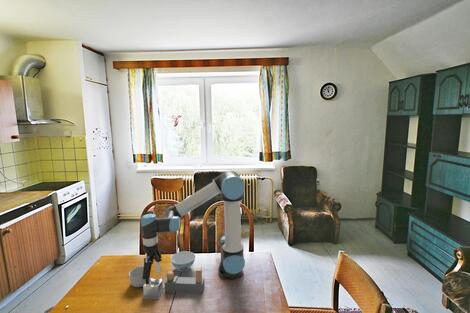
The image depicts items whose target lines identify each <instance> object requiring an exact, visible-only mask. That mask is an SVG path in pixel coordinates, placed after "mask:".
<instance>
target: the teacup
mask: <svg viewBox="0 0 470 313" xmlns="http://www.w3.org/2000/svg"><path fill="white" fill-rule="evenodd" d="M143 268H144V264H142V265H140V266H136V267H134V268H132V269H131V270H130V271H129V272H128V278H129V284H130V285H131V286H132V287H134V288H142V287H143V286H144V284H145V279H142V278H143Z"/></svg>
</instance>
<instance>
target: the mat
mask: <svg viewBox="0 0 470 313" xmlns="http://www.w3.org/2000/svg"><path fill="white" fill-rule="evenodd" d="M164 291H165V287H163V290H162V292H161V294H160V295H159V297H144V295H143V296H141V300H142V299H143V300H159V299H160V298H161V296H162V294H163V292H164Z"/></svg>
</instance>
